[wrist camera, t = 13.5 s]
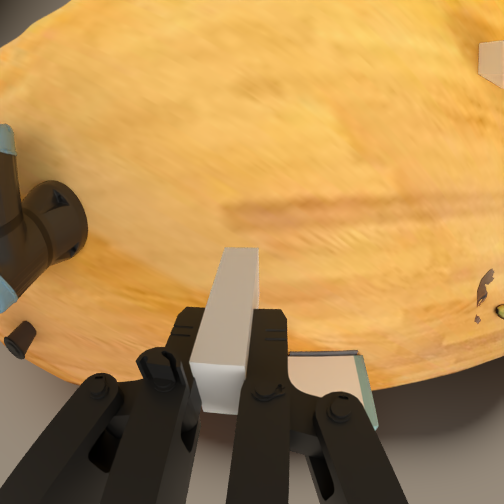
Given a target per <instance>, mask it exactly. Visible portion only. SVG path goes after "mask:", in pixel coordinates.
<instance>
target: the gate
mask: <svg viewBox="0 0 504 504" xmlns="http://www.w3.org/2000/svg"><path fill="white" fill-rule="evenodd" d="M288 375H289V379H290V381H291V383H292V384H293V385H294V386H295V387H296V388H297V389H299V390H300V391H302V392H304V393H307V394H310V395H314V396H318V397H323V396H324V395H326V394H329V393H331V392H338V391H342V392H347V393H350V394H352V395H354V396H355V397H357V398H358V399H359V401H360V402H361V403H362V405H363V407H364V409H365V411H366V413H367V415H368V417H369V419H370V421H371V423H372V425H373V427H374V429H375V430H376V429H377V427H378V420H377V415H376V410H375V406H374V401H373V397H372V392H371V388H370V383H369V379H368V375H367V371H366V367H365V363H364V359H363V355H356V356H323V357H288Z"/></svg>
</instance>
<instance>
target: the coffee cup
mask: <svg viewBox="0 0 504 504" xmlns="http://www.w3.org/2000/svg"><path fill="white" fill-rule="evenodd" d="M35 335H36V330H35V328H34V327H33V326H32V325H31V324H30V323H29V322H27V321H23V322H22V323H21V324H20V325H19V326H18V327H17V328H16V329H15V330H14V331H13V332H12V333H11V334H10V335H9V336H8V337H4V343H5V345H6V347H7V348H8V349H9V351H10V352H11V353H12V354H13V355H14V356H16V357H17V358H19V359H24V358H25V354H26V352H27V350H28V348H29V346H30V344H31V343H32V341H33V339H34V337H35Z"/></svg>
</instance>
